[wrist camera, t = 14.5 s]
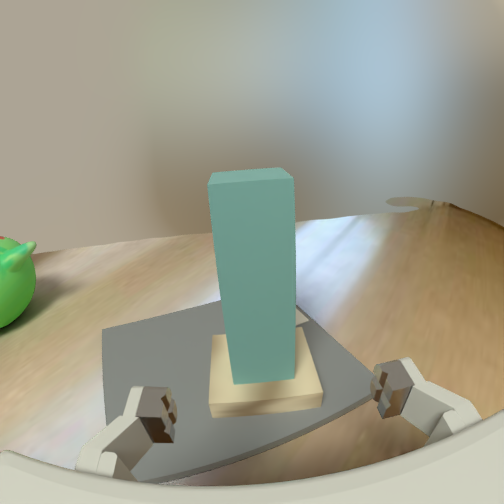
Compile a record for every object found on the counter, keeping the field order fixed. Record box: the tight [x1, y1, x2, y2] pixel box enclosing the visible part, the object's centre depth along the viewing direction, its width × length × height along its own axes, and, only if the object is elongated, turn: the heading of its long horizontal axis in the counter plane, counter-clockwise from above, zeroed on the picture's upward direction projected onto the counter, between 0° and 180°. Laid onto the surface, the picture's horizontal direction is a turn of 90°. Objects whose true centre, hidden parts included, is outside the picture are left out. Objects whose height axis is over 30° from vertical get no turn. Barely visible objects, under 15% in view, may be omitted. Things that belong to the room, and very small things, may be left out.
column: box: [207, 168, 296, 385], centre depth 23 cm, size 5×5×16 cm
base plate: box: [102, 300, 375, 484], centre depth 29 cm, size 24×22×3 cm
